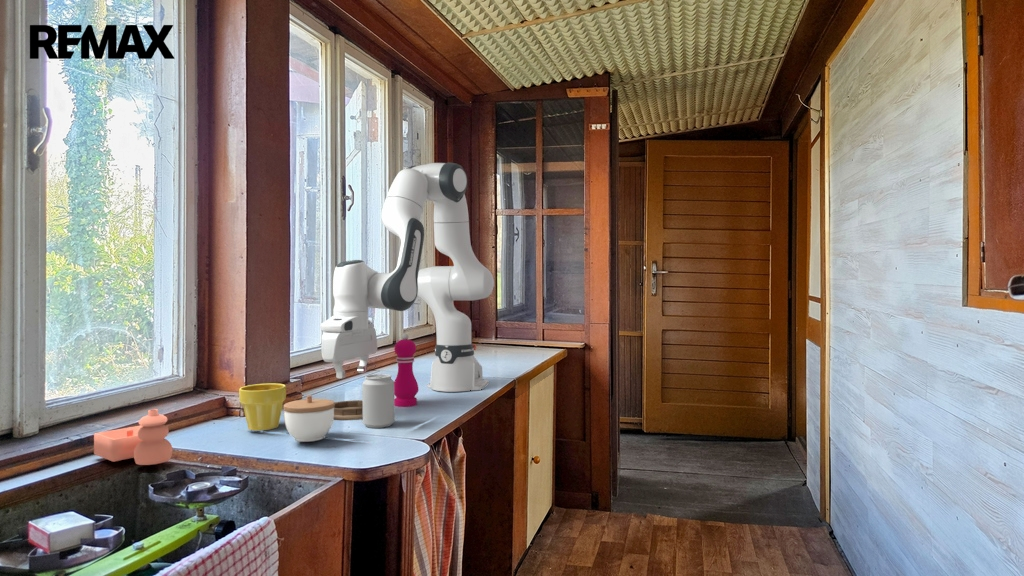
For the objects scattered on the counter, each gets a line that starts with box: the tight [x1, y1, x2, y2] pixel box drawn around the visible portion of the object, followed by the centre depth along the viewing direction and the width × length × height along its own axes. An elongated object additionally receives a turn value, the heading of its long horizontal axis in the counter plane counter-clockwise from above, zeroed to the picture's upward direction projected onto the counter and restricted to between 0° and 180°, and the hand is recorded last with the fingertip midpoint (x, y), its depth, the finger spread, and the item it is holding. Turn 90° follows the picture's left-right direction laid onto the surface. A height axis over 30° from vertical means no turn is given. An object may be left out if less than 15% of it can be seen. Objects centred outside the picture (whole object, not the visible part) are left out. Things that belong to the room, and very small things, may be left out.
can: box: [361, 373, 396, 429], centre depth 151 cm, size 8×8×12 cm
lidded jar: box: [282, 395, 335, 443], centre depth 139 cm, size 11×11×9 cm
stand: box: [333, 399, 363, 421], centre depth 165 cm, size 14×14×2 cm
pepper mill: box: [393, 333, 419, 408], centre depth 177 cm, size 7×7×20 cm
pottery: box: [93, 408, 173, 466], centre depth 126 cm, size 18×10×10 cm, turn 54°
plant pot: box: [238, 382, 287, 432], centre depth 149 cm, size 10×10×10 cm
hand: (351, 375), depth 165 cm, fingers open, 8 cm apart
